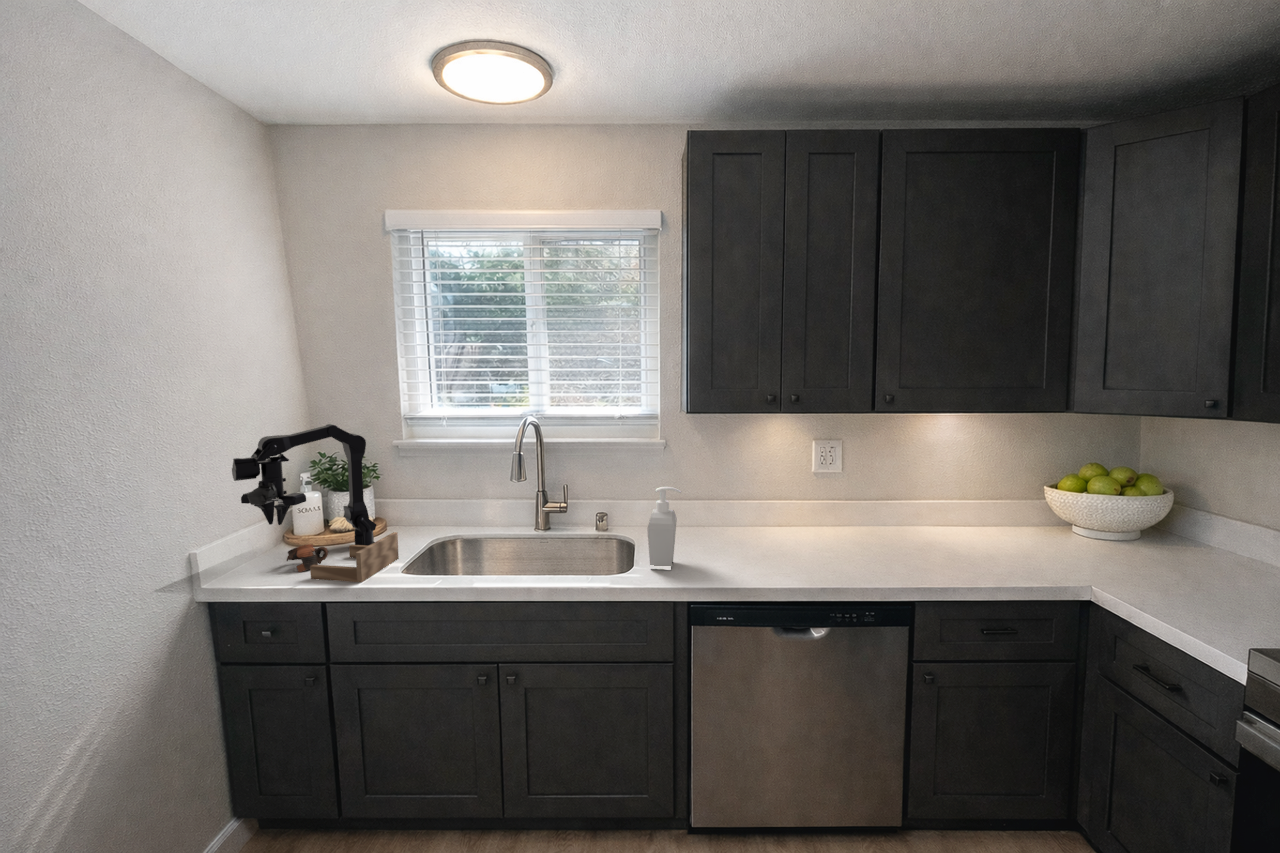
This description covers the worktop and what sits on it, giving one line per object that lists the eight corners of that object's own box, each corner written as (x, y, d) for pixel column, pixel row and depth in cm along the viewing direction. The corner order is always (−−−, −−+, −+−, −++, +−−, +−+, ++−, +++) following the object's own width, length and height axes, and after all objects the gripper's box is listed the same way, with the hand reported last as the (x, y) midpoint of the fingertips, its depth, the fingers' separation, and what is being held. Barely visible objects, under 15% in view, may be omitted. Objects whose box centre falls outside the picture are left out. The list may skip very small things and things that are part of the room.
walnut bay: (352, 556, 207) (350, 530, 206) (398, 558, 205) (397, 532, 204) (310, 579, 186) (309, 550, 185) (361, 582, 184) (360, 553, 183)
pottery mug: (287, 576, 190) (281, 551, 192) (295, 579, 198) (289, 555, 200) (329, 561, 194) (322, 537, 196) (335, 565, 203) (328, 541, 204)
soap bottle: (679, 573, 193) (680, 492, 190) (646, 571, 194) (647, 491, 191) (681, 560, 205) (682, 483, 202) (651, 558, 206) (651, 482, 203)
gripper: (225, 480, 189) (229, 530, 191) (281, 482, 186) (284, 533, 188) (252, 473, 200) (256, 520, 202) (305, 475, 197) (308, 523, 199)
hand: (275, 524), depth 197 cm, fingers open, 3 cm apart
